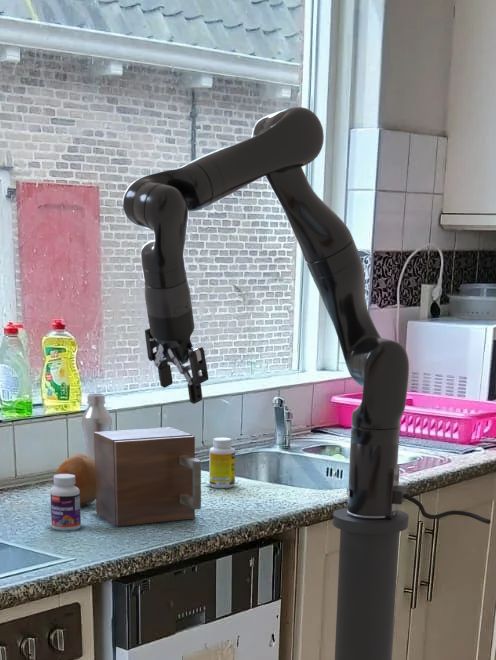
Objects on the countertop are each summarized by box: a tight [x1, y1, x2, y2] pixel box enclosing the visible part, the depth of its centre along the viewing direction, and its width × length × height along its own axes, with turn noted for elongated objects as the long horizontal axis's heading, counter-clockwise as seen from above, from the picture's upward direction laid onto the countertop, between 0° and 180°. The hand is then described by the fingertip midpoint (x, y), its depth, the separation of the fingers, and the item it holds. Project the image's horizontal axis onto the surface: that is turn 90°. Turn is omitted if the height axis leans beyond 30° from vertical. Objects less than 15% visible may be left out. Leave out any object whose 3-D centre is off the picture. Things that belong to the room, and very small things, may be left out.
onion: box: [54, 453, 96, 507], centre depth 240 cm, size 10×10×10 cm
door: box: [114, 435, 202, 527], centre depth 223 cm, size 8×16×16 cm, turn 118°
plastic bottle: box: [81, 392, 113, 461], centre depth 252 cm, size 6×7×20 cm
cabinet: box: [94, 426, 193, 527], centre depth 231 cm, size 10×16×16 cm, turn 118°
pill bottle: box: [49, 474, 82, 532], centre depth 222 cm, size 5×5×10 cm
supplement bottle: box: [208, 437, 236, 489], centre depth 260 cm, size 6×6×10 cm
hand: (181, 393), depth 210 cm, fingers open, 8 cm apart
